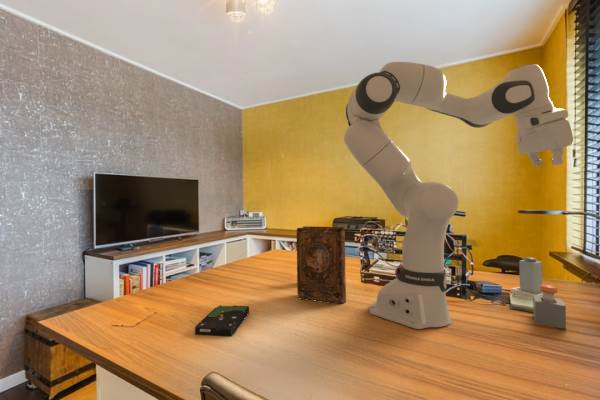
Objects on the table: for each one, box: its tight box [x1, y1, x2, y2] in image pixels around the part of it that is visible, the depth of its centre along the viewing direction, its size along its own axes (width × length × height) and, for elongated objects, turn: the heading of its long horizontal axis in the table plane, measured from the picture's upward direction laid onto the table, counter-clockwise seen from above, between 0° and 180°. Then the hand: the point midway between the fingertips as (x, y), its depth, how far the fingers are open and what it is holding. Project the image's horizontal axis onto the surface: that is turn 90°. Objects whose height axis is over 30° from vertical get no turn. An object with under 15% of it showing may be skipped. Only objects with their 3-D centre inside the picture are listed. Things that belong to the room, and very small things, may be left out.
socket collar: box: [510, 286, 543, 297], centre depth 95 cm, size 8×8×2 cm
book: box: [296, 225, 347, 305], centre depth 96 cm, size 16×6×25 cm, turn 68°
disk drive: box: [194, 304, 250, 337], centre depth 79 cm, size 10×3×15 cm
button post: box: [532, 295, 567, 330], centre depth 76 cm, size 6×6×6 cm
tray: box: [509, 293, 533, 313], centre depth 86 cm, size 10×10×2 cm
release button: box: [540, 284, 558, 302], centre depth 76 cm, size 4×4×6 cm
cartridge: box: [518, 256, 543, 295], centre depth 95 cm, size 4×4×13 cm
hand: (547, 165), depth 82 cm, fingers open, 8 cm apart
